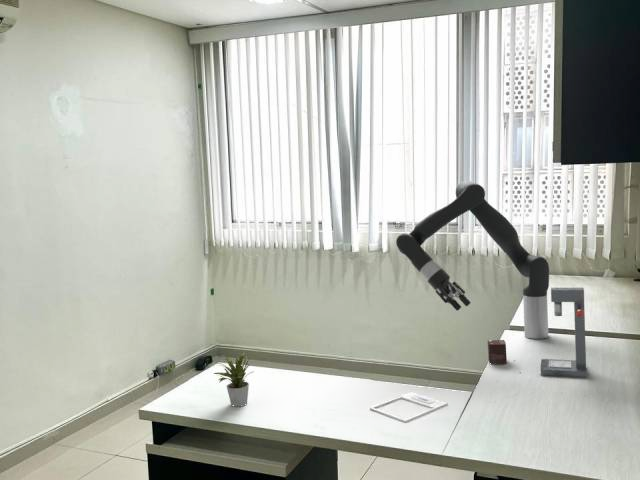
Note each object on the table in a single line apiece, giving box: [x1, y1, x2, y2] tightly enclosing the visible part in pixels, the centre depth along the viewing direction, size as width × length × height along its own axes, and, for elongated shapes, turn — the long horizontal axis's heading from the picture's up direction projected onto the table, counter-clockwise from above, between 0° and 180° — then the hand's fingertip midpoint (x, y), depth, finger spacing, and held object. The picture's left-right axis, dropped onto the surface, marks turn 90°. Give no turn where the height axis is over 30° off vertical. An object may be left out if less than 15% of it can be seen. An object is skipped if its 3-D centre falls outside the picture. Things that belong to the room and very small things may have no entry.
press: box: [539, 287, 588, 379], centre depth 199 cm, size 17×14×28 cm
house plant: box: [213, 351, 253, 407], centre depth 193 cm, size 14×14×16 cm
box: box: [487, 339, 508, 365], centre depth 217 cm, size 6×6×7 cm
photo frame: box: [369, 391, 448, 423], centre depth 180 cm, size 15×1×18 cm
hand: (464, 306), depth 222 cm, fingers open, 8 cm apart
